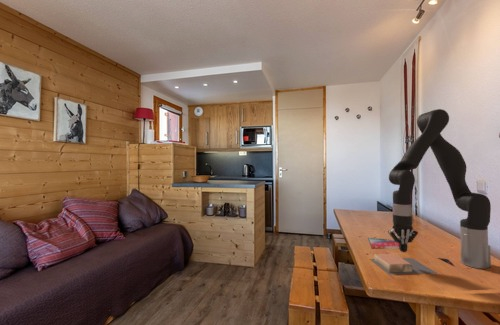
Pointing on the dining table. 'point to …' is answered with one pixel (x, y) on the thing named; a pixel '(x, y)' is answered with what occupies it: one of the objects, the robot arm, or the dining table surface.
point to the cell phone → (446, 261)
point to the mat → (416, 267)
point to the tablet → (383, 243)
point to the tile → (392, 263)
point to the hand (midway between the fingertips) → (403, 251)
